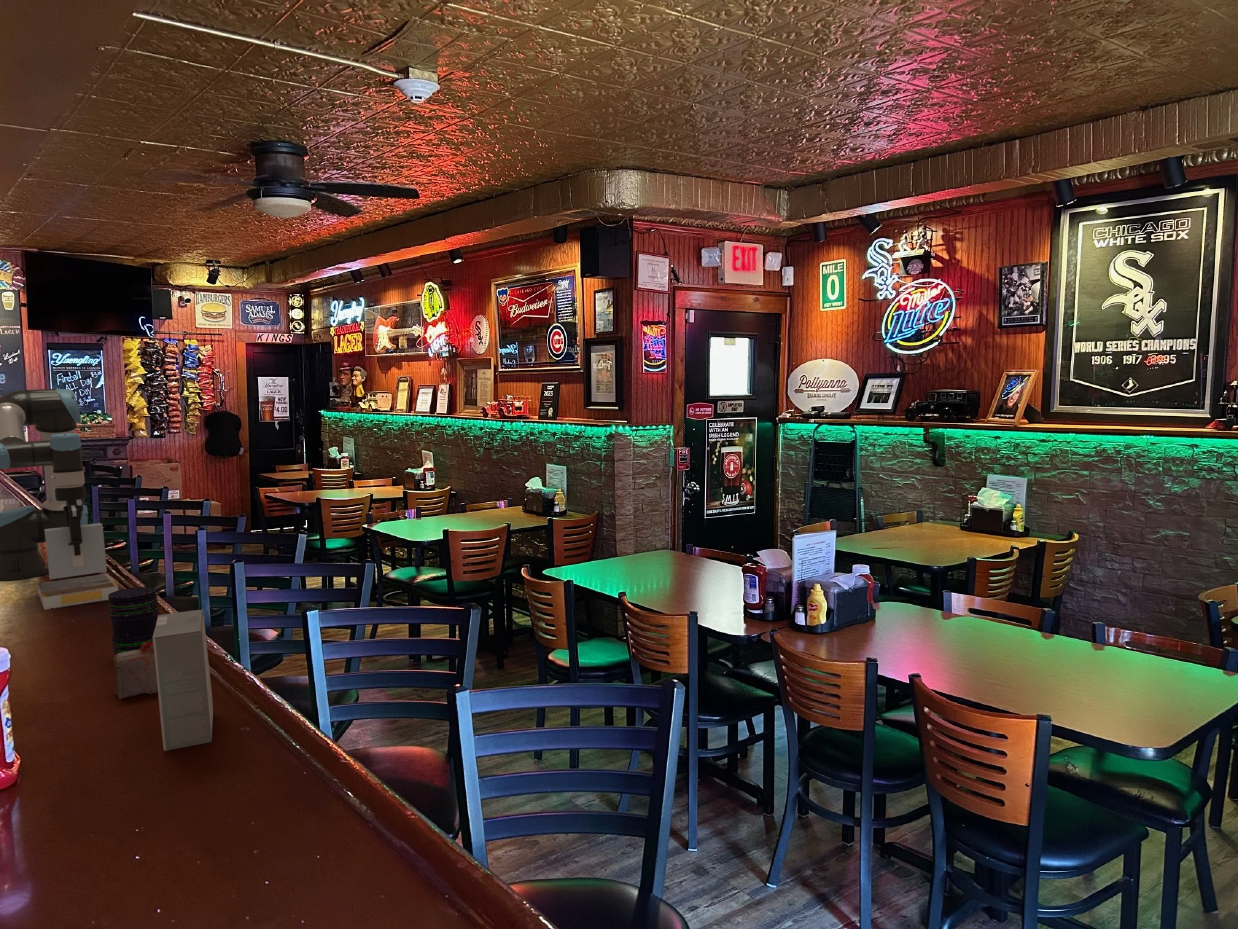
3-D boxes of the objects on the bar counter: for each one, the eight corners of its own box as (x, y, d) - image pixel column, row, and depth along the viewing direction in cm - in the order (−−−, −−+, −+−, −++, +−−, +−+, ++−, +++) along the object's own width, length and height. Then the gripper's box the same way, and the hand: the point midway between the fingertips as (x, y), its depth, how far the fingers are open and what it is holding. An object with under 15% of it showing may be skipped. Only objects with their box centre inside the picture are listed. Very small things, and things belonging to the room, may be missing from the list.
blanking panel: (49, 576, 249) (44, 529, 248) (104, 569, 258) (100, 523, 256) (50, 579, 245) (45, 531, 244) (106, 571, 254) (102, 524, 252)
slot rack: (38, 594, 262) (37, 582, 262) (108, 584, 274) (107, 573, 273) (44, 610, 243) (42, 597, 243) (119, 598, 254) (118, 586, 254)
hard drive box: (167, 720, 157) (158, 614, 155) (213, 712, 160) (204, 608, 158) (162, 752, 143) (151, 636, 141) (212, 743, 146) (203, 629, 144)
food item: (187, 676, 181) (183, 631, 180) (195, 686, 175) (191, 639, 174) (113, 692, 173) (108, 644, 172) (118, 703, 167) (114, 654, 166)
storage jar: (107, 664, 191) (101, 599, 189) (120, 651, 200) (114, 589, 199) (156, 659, 193) (150, 594, 192) (167, 647, 203) (161, 585, 201)
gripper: (51, 485, 254) (59, 562, 256) (57, 489, 240) (65, 571, 242) (81, 483, 258) (88, 558, 260) (88, 487, 244) (95, 567, 246)
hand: (77, 564), depth 251 cm, fingers closed on blanking panel, 5 cm apart
